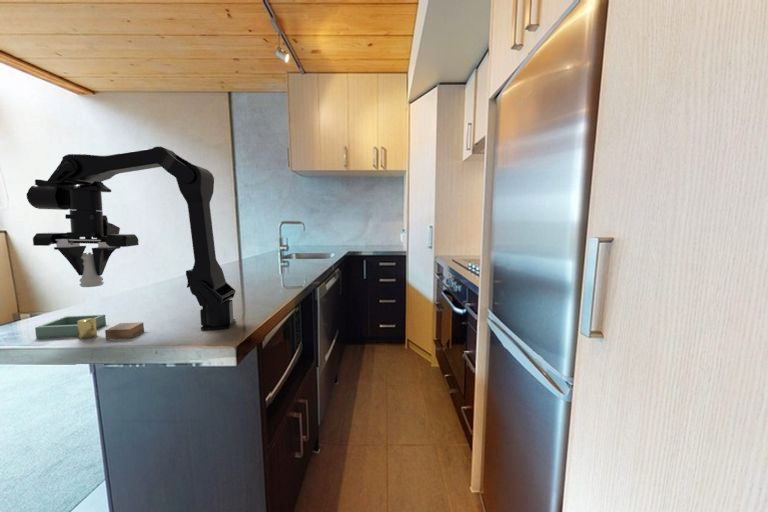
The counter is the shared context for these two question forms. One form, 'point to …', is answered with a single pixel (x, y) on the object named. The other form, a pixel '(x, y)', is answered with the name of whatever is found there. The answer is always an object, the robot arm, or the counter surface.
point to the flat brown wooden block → (124, 330)
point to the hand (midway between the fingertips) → (90, 275)
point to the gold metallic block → (87, 328)
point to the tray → (66, 326)
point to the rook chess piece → (90, 272)
